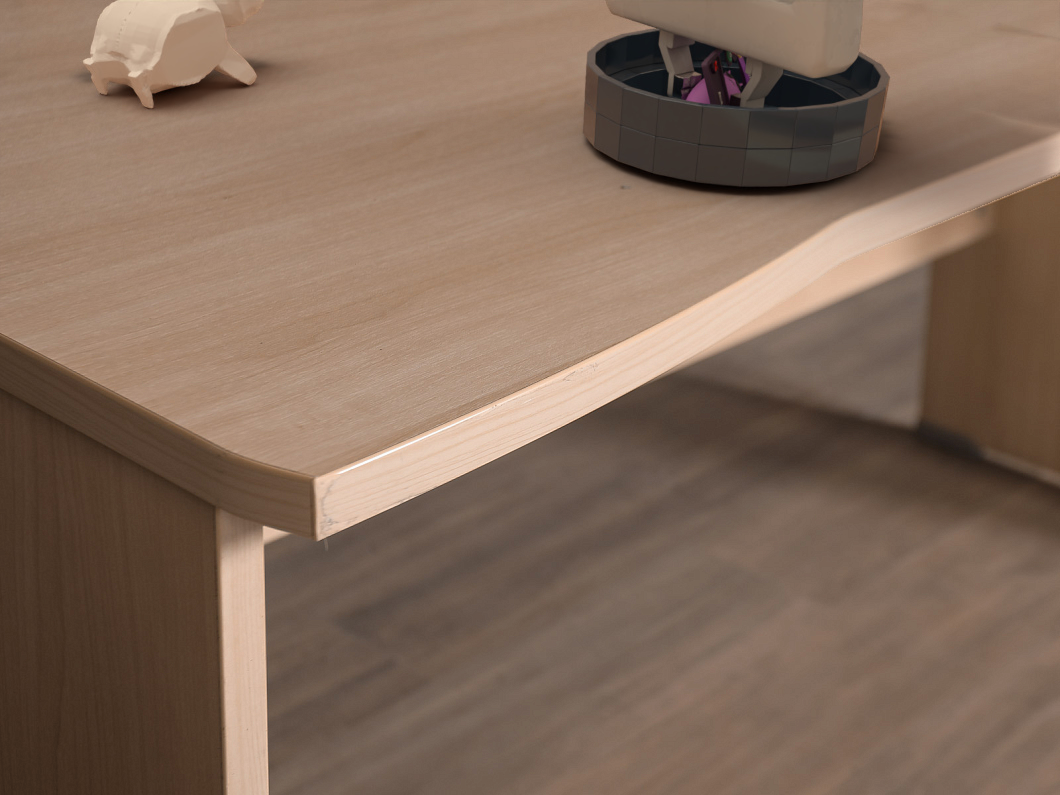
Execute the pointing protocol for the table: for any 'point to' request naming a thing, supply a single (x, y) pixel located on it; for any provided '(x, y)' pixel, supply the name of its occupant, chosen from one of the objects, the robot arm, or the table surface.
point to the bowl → (730, 119)
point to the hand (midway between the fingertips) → (712, 110)
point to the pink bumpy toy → (718, 80)
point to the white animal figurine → (167, 44)
